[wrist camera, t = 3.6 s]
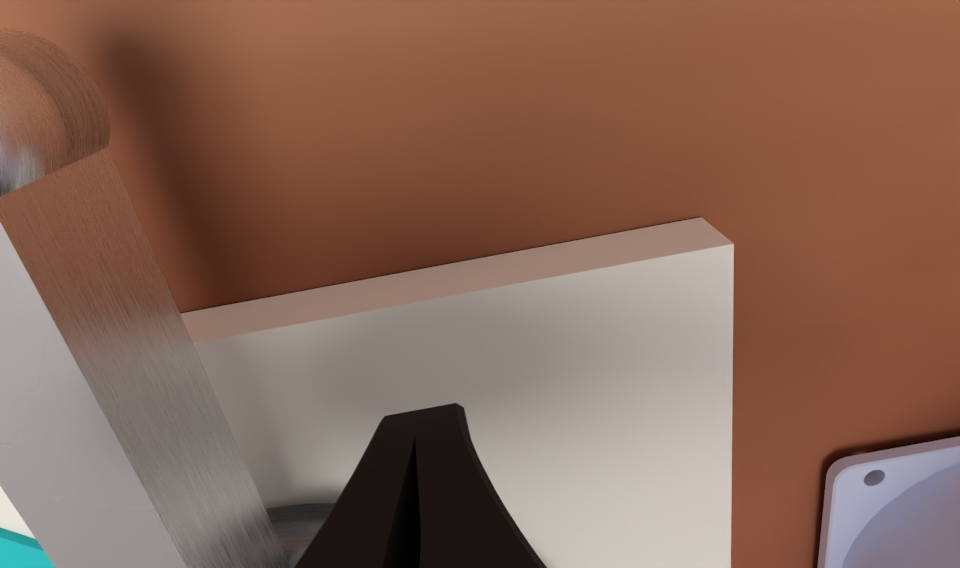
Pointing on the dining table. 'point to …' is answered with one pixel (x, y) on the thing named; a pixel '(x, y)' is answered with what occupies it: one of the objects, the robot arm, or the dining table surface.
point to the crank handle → (107, 357)
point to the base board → (503, 389)
